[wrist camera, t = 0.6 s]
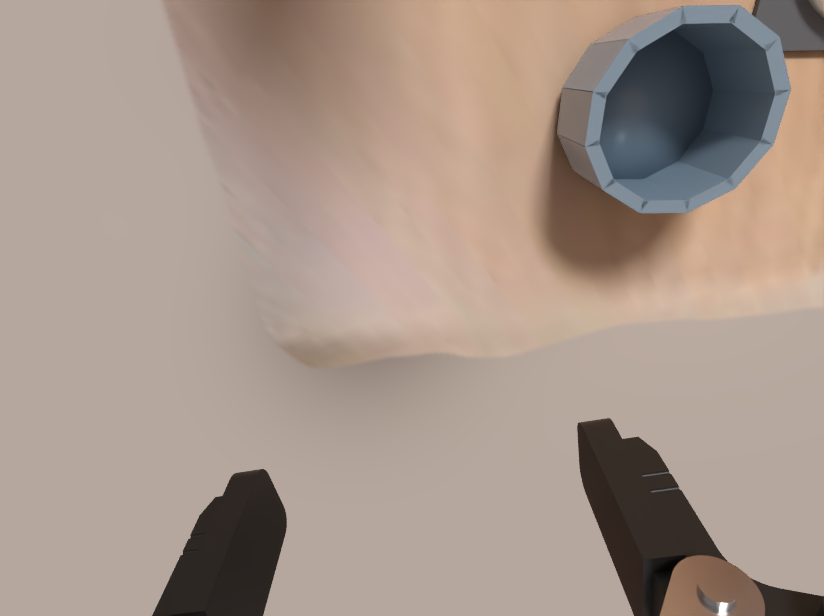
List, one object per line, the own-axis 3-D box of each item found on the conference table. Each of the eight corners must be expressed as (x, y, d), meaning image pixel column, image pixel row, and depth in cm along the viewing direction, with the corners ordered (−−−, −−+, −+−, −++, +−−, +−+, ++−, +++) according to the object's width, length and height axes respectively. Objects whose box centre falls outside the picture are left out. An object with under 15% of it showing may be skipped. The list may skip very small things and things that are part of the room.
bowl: (566, 19, 31) (605, 7, 25) (736, 16, 31) (818, 3, 25) (547, 188, 36) (575, 214, 30) (693, 187, 36) (752, 212, 30)
